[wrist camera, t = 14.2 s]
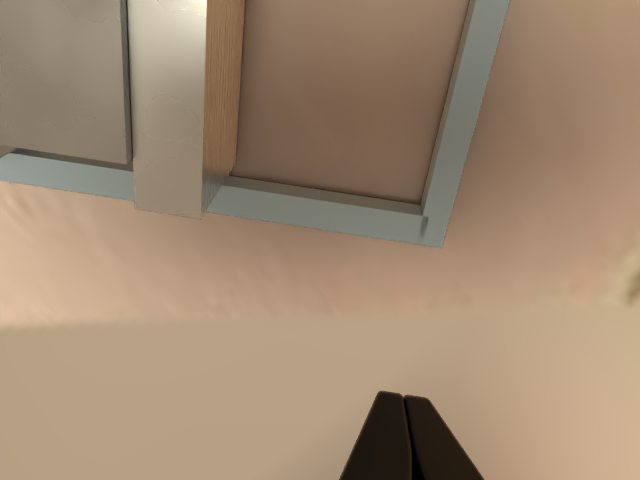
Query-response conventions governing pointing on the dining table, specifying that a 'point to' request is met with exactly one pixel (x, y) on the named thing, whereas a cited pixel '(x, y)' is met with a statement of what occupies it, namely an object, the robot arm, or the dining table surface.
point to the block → (66, 78)
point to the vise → (313, 204)
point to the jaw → (183, 100)
